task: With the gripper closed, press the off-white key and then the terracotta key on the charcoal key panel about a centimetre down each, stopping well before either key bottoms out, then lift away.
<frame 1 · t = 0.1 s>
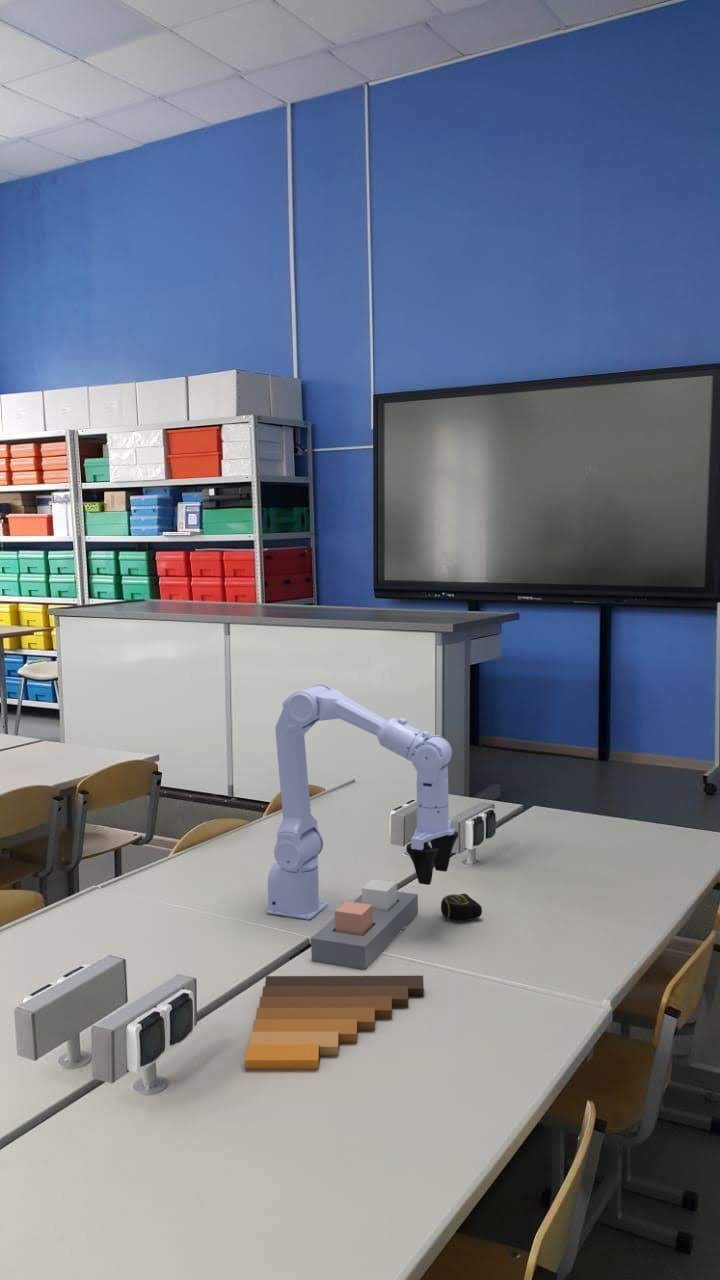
hand: (433, 876, 183), 10 cm above the table, fingers open, 7 cm apart
terracotta key: (354, 920, 176), point 5 cm above the table, slide at 0.0 cm
white key: (379, 897, 187), point 5 cm above the table, slide at 0.0 cm
tape measure: (461, 918, 191), on the table
key panel: (367, 936, 182), on the table
pan flute: (341, 1030, 149), on the table
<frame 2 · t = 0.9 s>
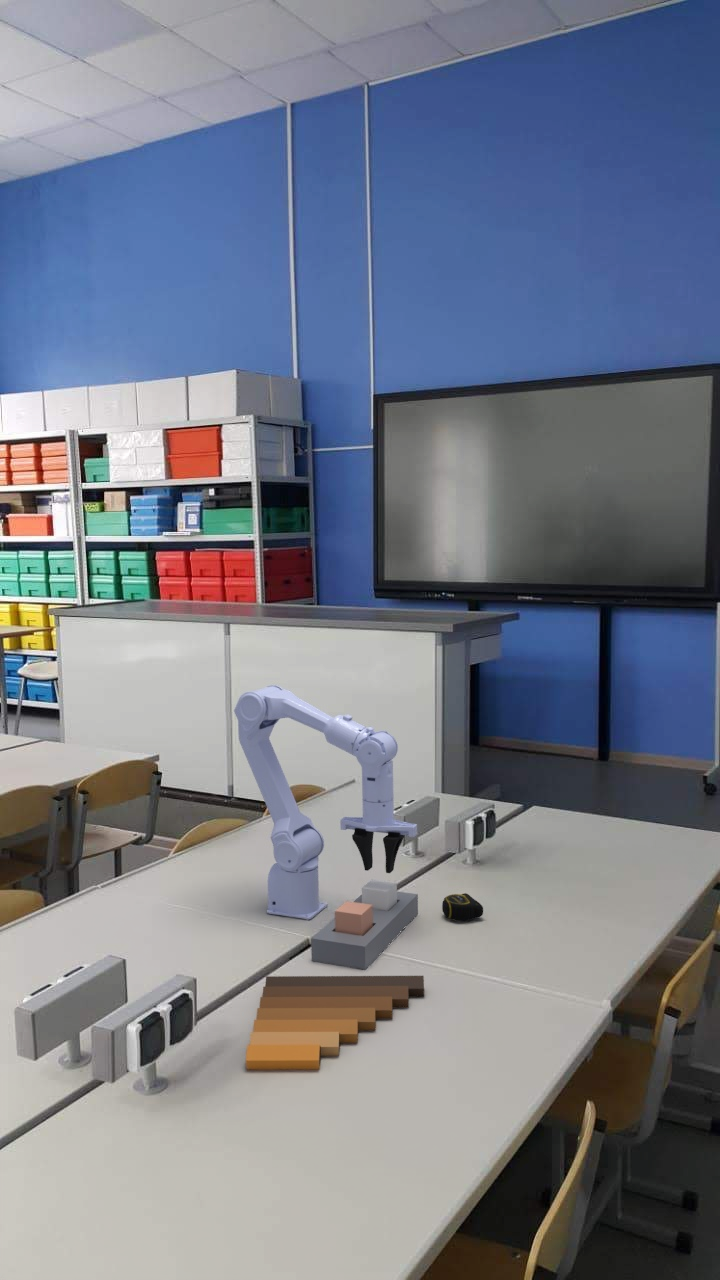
hand: (379, 870, 186), 10 cm above the table, fingers open, 4 cm apart
nothing on the table moved.
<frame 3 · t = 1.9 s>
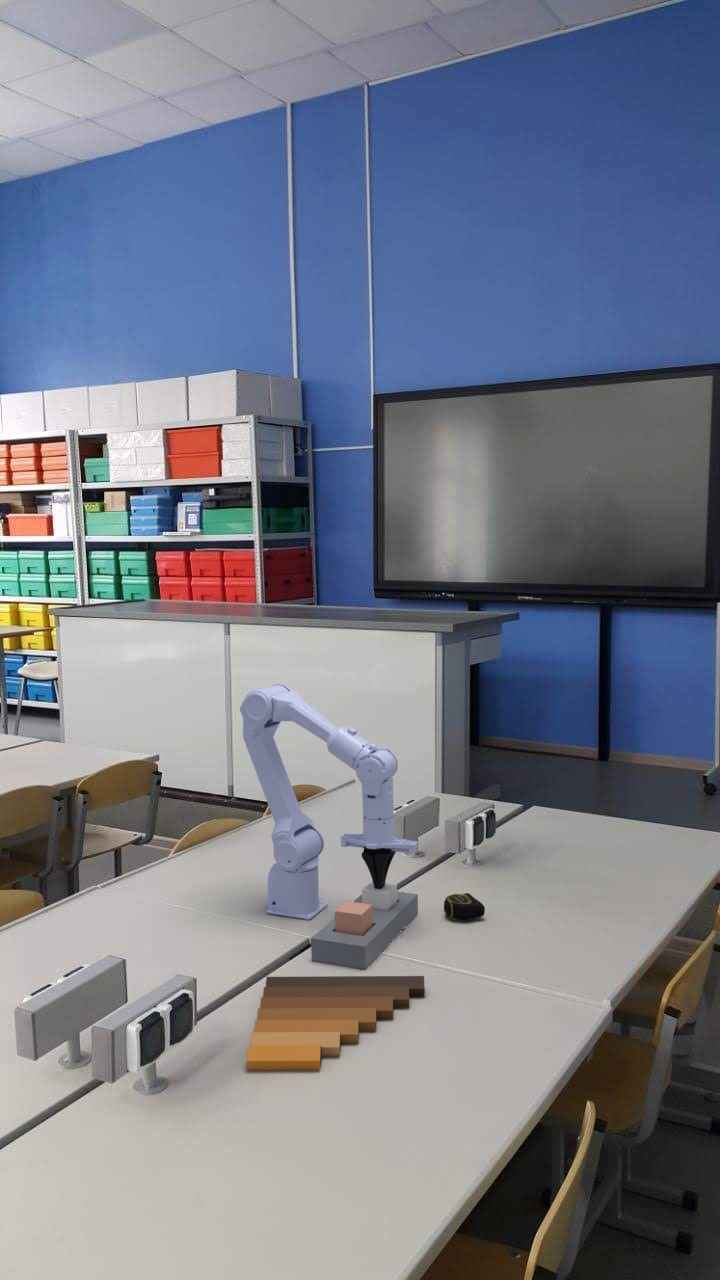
hand: (379, 887, 187), 7 cm above the table, fingers closed, pressing on white key
white key: (379, 898, 187), point 5 cm above the table, slide at 0.3 cm, touching gripper
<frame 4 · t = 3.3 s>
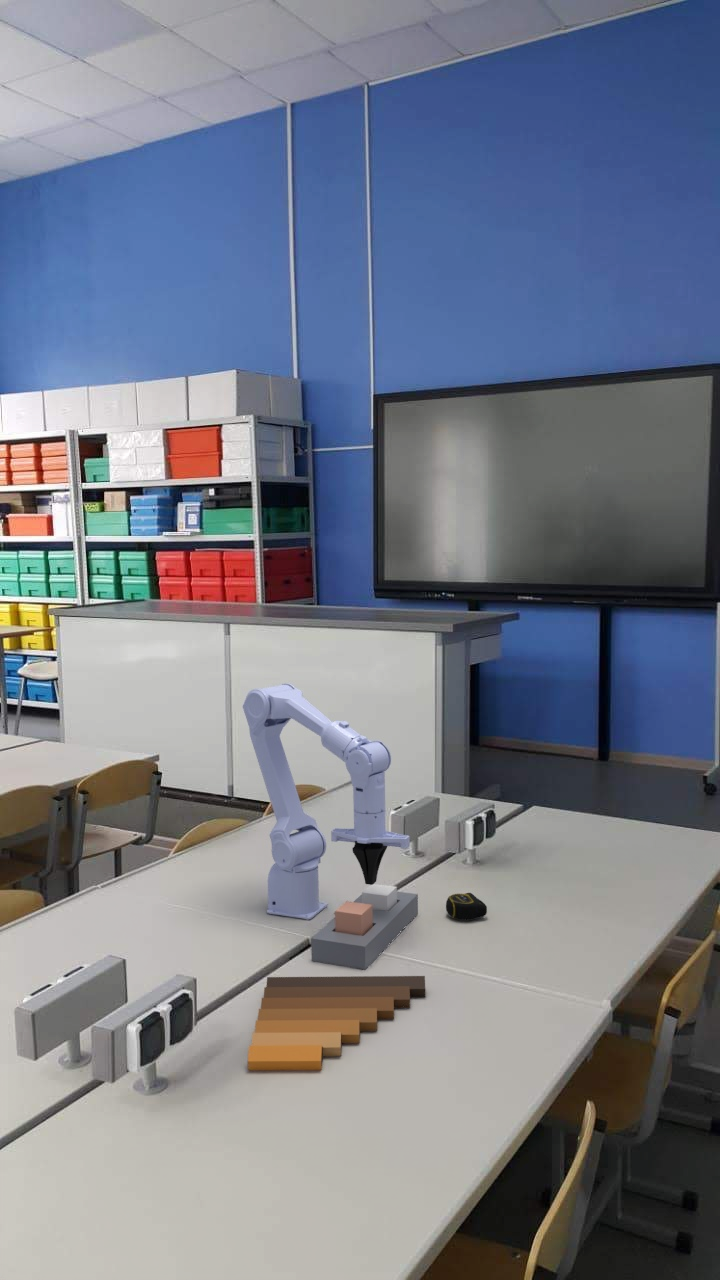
hand: (370, 882, 183), 9 cm above the table, fingers closed
white key: (379, 901, 187), point 4 cm above the table, slide at 0.8 cm
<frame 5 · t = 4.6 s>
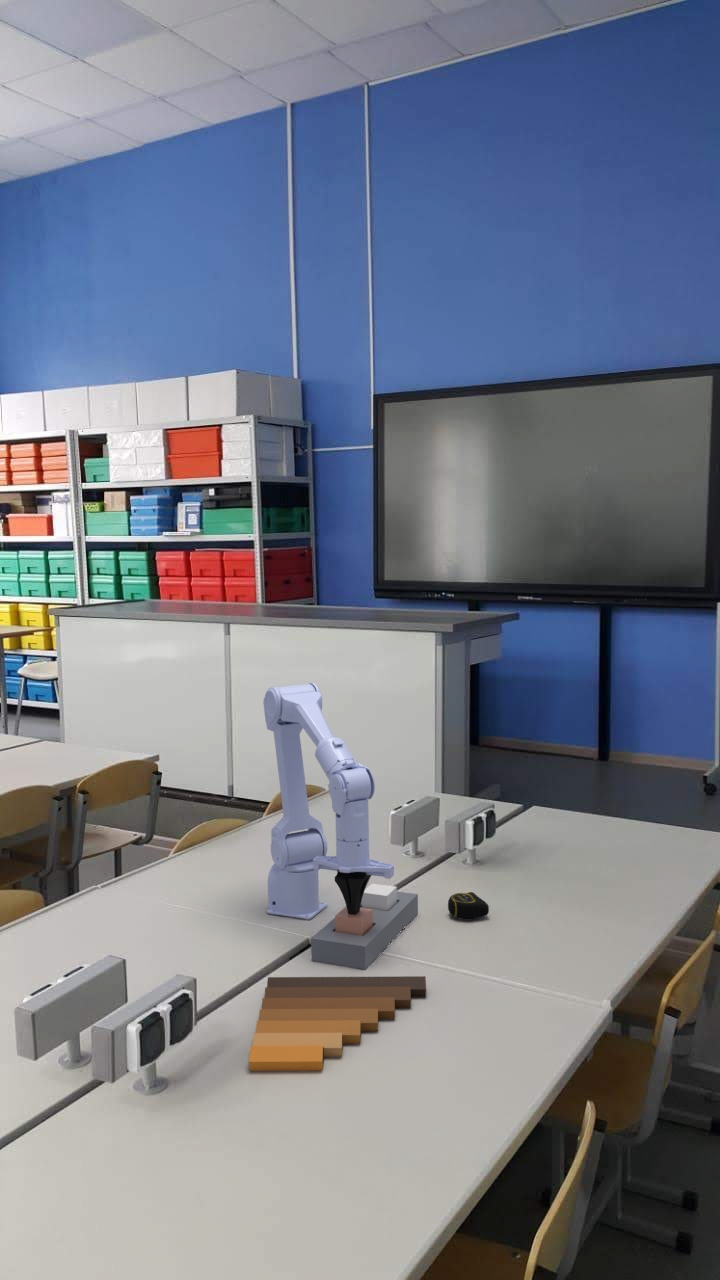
hand: (353, 912, 176), 7 cm above the table, fingers closed, pressing on terracotta key
terracotta key: (354, 924, 176), point 4 cm above the table, slide at 0.8 cm, touching gripper
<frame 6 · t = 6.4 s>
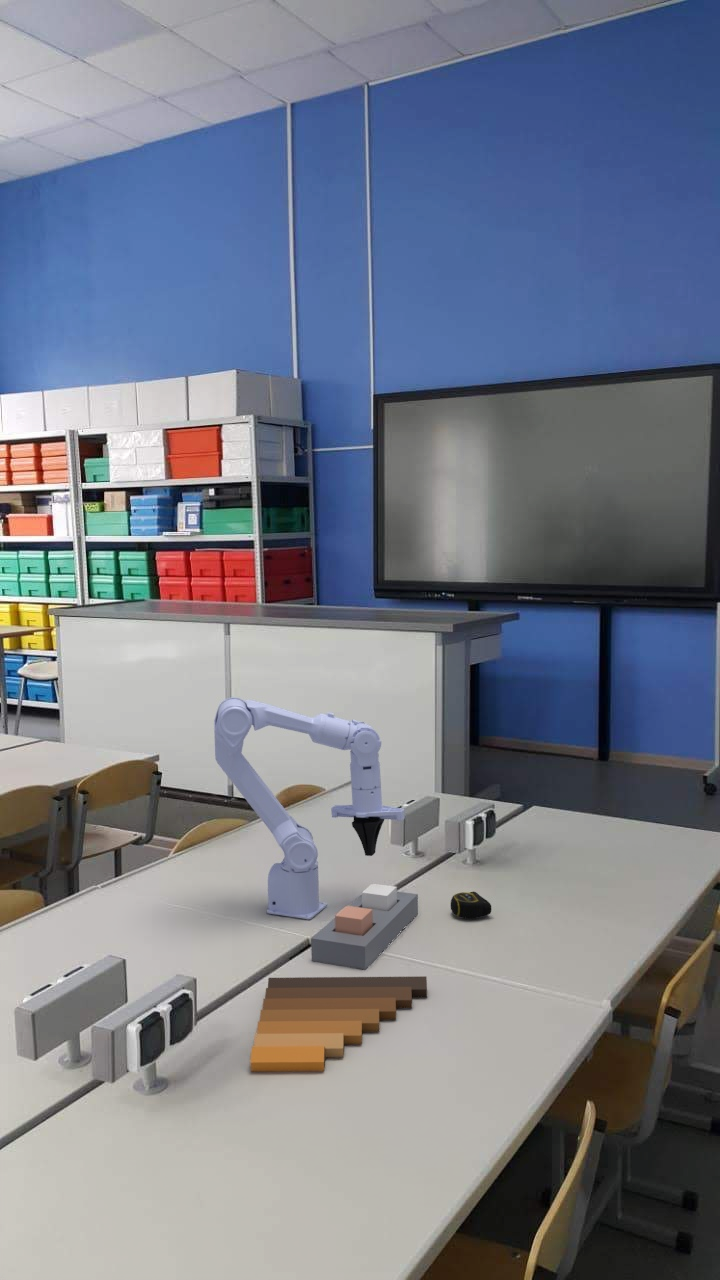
hand: (370, 854, 196), 10 cm above the table, fingers closed
terracotta key: (354, 924, 176), point 4 cm above the table, slide at 0.8 cm
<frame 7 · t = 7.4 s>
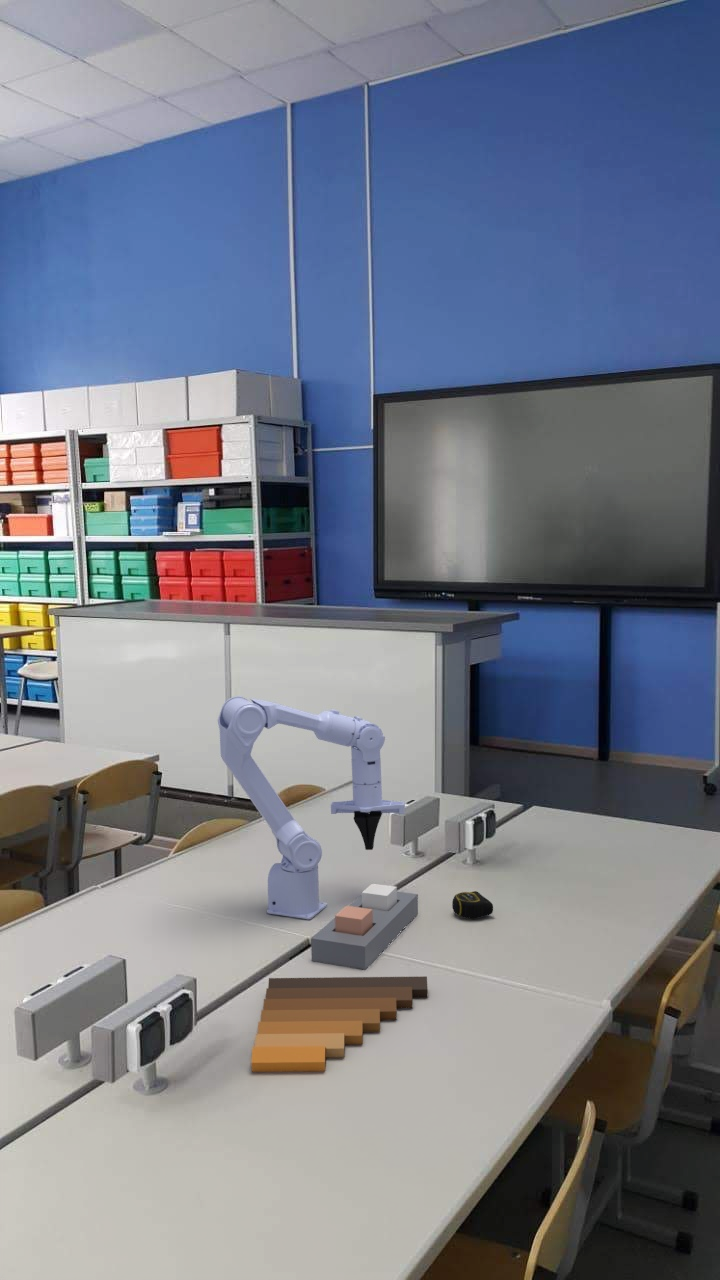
hand: (369, 848, 199), 10 cm above the table, fingers closed
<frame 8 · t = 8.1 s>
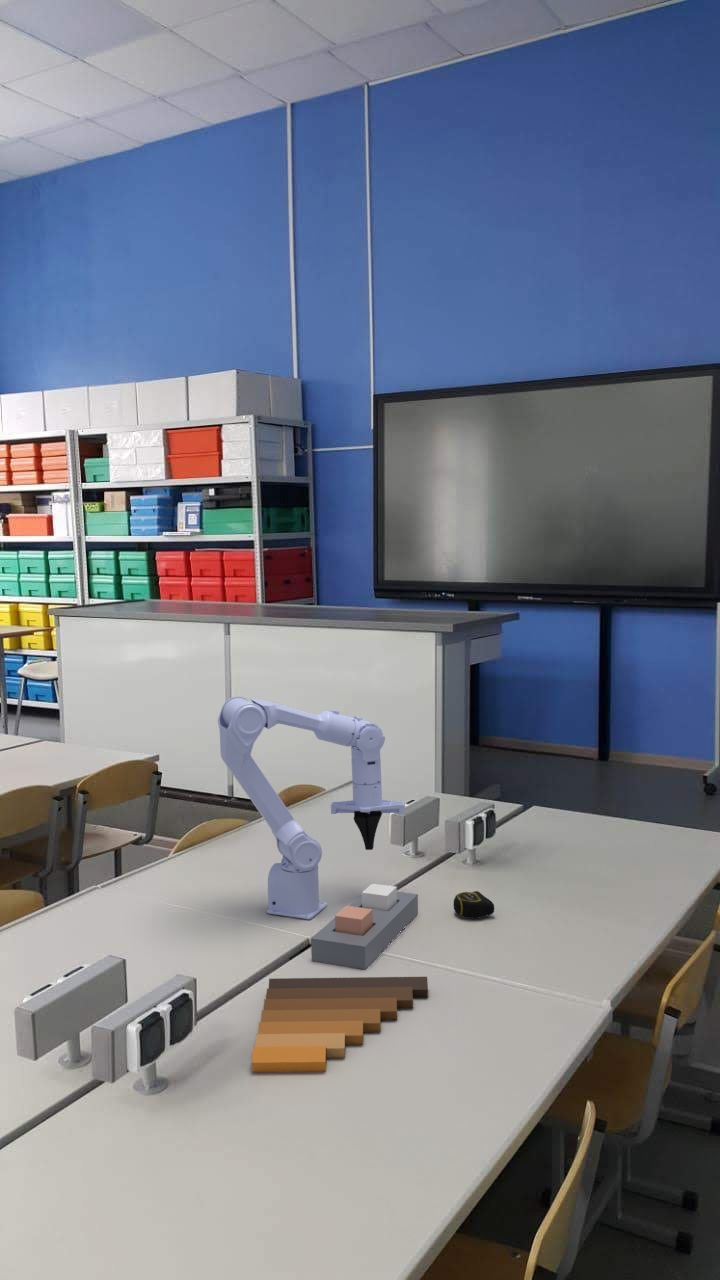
hand: (369, 848, 199), 10 cm above the table, fingers closed
at the end: white key slide at 0.8 cm; terracotta key slide at 0.8 cm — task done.
